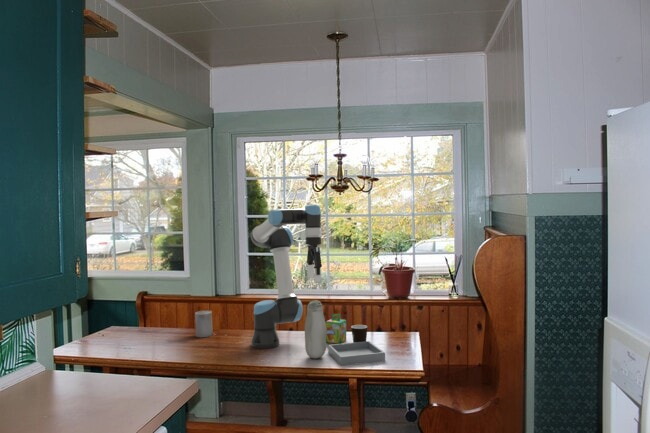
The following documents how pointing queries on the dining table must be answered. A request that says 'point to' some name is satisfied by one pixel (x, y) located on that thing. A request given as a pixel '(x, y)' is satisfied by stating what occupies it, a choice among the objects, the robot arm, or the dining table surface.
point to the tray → (356, 353)
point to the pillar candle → (203, 323)
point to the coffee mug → (359, 333)
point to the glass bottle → (315, 330)
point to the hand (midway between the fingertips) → (314, 279)
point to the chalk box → (336, 330)
